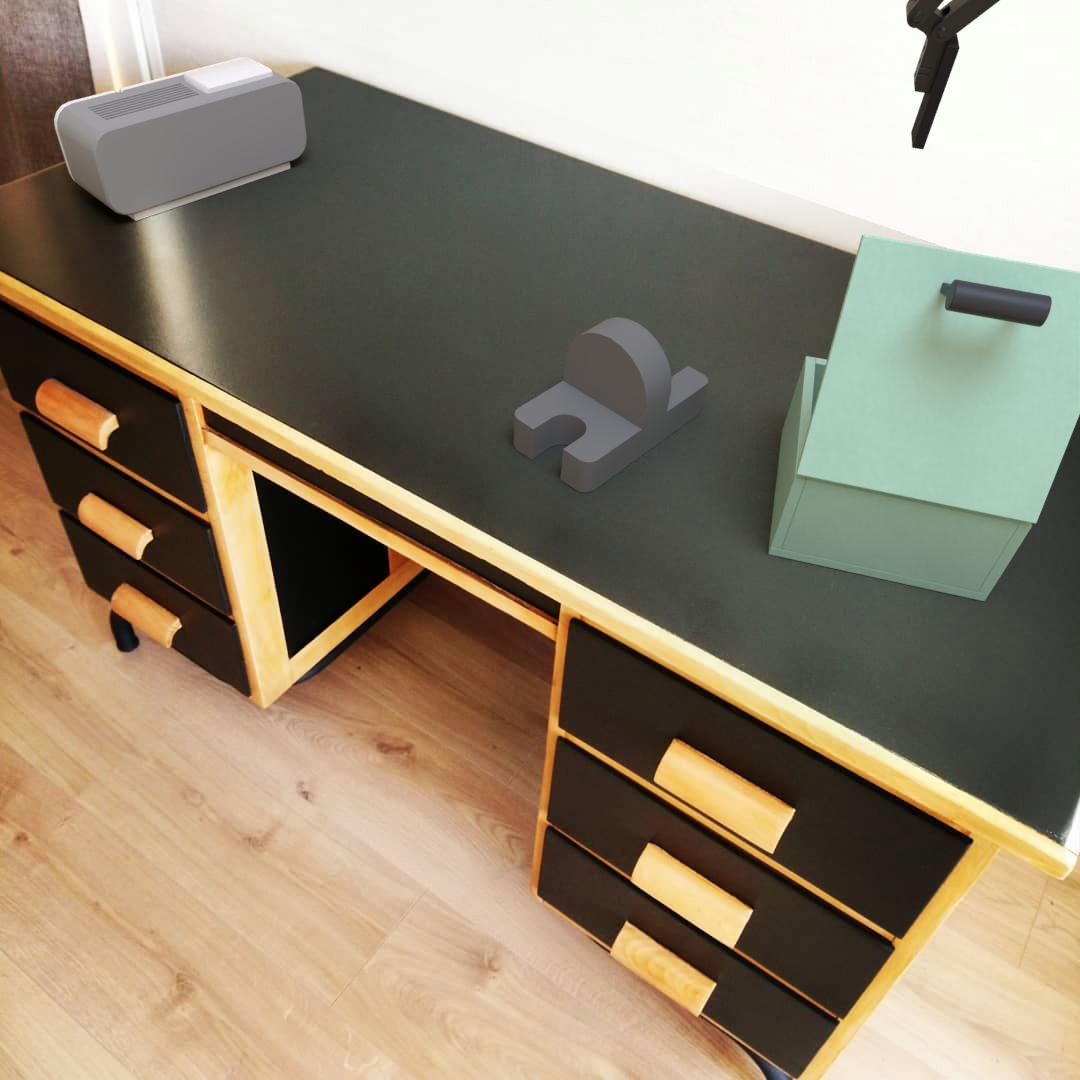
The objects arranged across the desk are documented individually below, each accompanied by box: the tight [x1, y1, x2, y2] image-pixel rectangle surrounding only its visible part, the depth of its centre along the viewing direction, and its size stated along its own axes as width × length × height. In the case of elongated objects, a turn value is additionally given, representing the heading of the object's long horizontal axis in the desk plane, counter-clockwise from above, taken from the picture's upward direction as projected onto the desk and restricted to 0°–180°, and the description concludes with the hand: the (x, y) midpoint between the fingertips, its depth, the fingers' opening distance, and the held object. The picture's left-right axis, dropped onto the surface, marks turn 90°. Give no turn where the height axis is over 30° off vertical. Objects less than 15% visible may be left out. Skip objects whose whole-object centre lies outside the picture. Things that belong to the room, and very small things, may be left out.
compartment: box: [767, 355, 1033, 602], centre depth 80 cm, size 17×18×9 cm
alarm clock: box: [53, 56, 308, 222], centre depth 113 cm, size 27×9×12 cm, turn 136°
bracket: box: [512, 316, 709, 493], centre depth 86 cm, size 10×18×11 cm, turn 137°
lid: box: [797, 234, 1080, 524], centre depth 65 cm, size 18×18×6 cm
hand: (1018, 157), depth 64 cm, fingers open, 13 cm apart
